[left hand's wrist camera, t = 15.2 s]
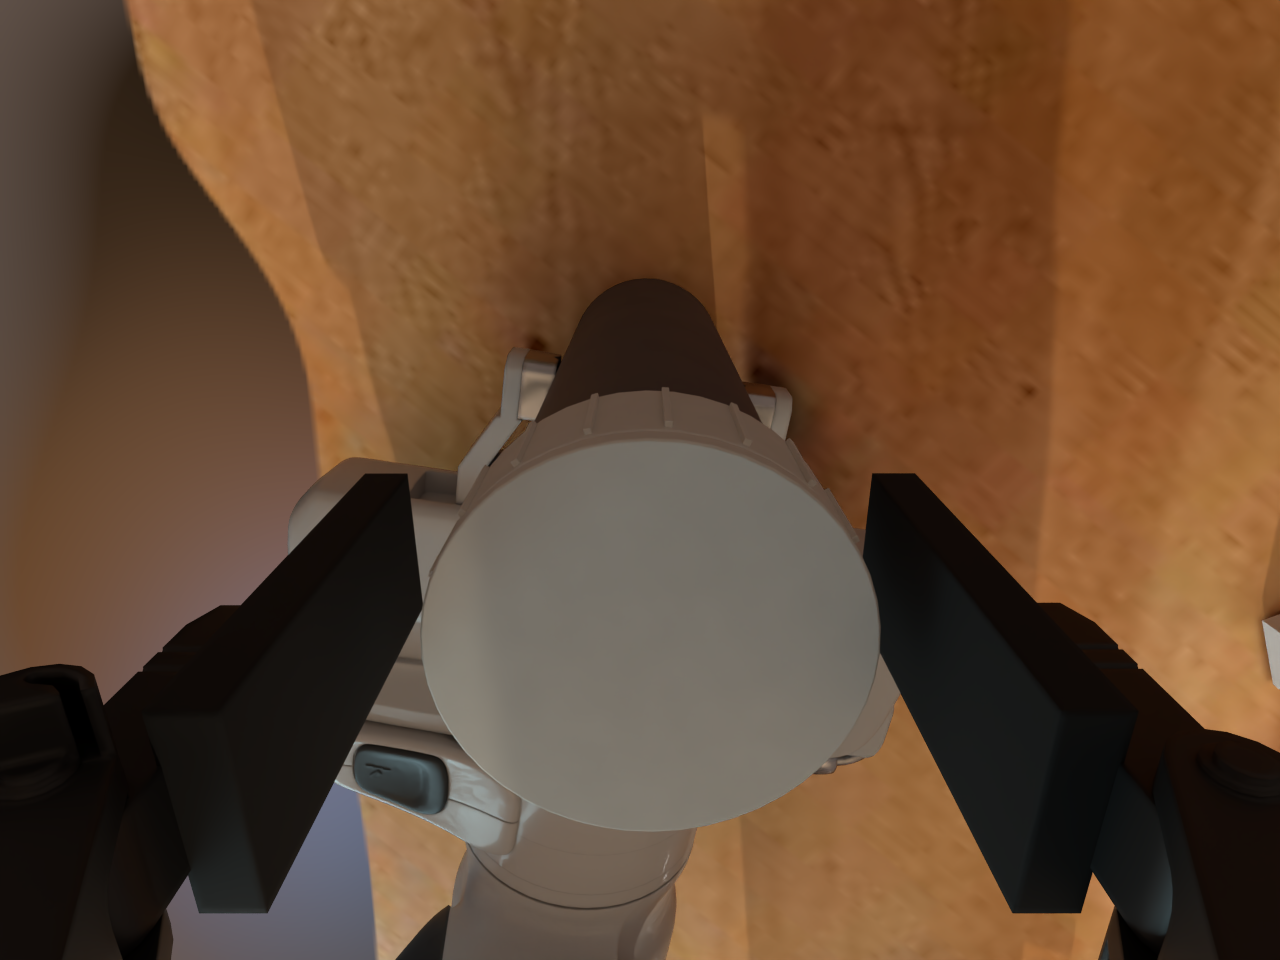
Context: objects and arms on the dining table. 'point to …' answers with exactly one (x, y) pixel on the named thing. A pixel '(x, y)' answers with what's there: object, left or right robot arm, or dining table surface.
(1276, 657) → the white angled block
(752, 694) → the lid
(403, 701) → the right robot arm
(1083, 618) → the left robot arm
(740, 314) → the dining table surface
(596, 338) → the dark grey thermos bottle
